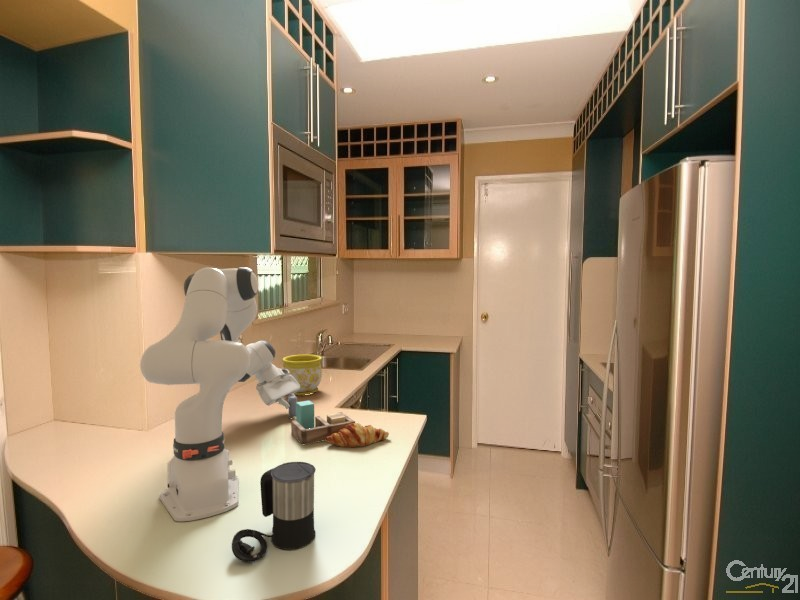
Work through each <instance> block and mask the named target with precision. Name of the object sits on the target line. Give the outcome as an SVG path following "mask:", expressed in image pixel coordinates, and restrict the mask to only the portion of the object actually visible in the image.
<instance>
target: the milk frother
mask: <svg viewBox="0 0 800 600" xmlns="http://www.w3.org/2000/svg"><path fill="white" fill-rule="evenodd" d="M315 473H316V467H315V465H313V464H311V463H309V462H304V461H290V462H289V461H288V462H283V463H282V464H279V465H277V466H275V467H273V468H271V469H269V470H267V471H265V472H264V473H263V474H262V475H261V477H260V482H259V483H260V495H261V497H260V498H261V511H262V516H263V517H265V518H267V517H269V516H272V529H271V530H272V531H271V532H272V534H266V533H263V532H261V531H258V530H255V529H250V528H249V529H248V528H247V529H246V528H245V529H241V530H239V531H237V532H236V533H235V534H234V536H233V538H232V541H231V551H232V554H233V555H234V557H235V558H236V559H238V560H239V561H241V562H244V563H252V562H253V563H254V562H256V561H259V560H260V559H262V558H263V557H264V556H265V555H266V553H267V549H268V542H267V540H266V538H270V539H271V540H270V541H271V543H272V545H274V546H275V547H276V548H278V549H282V550H286V551H288V550H290V549H291V550H298V549H302V548H304V547H306V546H308V545H309V544H311V543H312V542H313V541H314V539H315V537H316V530H315ZM264 537H266V538H264ZM244 538H253V539H255V540H257V541H258V543H259V545H260V550H259V552H257V553H255V552H254V551H255V546H254V545H253V546H251V545H250V544H248V543H246V542H244V541H243V540H242V539H244ZM312 540H313V541H312ZM311 541H312V542H311ZM310 542H311V543H310ZM307 544H308V545H307ZM305 545H306V546H305ZM303 546H304V547H303ZM301 547H302V548H301ZM291 550H290V551H291Z"/></svg>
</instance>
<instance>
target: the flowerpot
mask: <svg viewBox="0 0 800 600" xmlns="http://www.w3.org/2000/svg"><path fill="white" fill-rule="evenodd" d="M322 360H323V357H322V356H320V355H317V354H294V355H293V354H292V355H287V356H284V357H283V358H282V362H283V369H287V370H288V371H289V372H290V373H289V374H290V375H292V376H293V377H294V378H295V380H296V381H297V382H298V383H299V385H300V389H299V390H298V391H297V392H296V393H295V395H305V394H310V393H314V392H316V393H317V391H319V385H320V383H321V381H322V377H323V374H322V362H321V361H322ZM314 394H315V393H314Z"/></svg>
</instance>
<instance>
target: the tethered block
mask: <svg viewBox="0 0 800 600" xmlns="http://www.w3.org/2000/svg"><path fill="white" fill-rule="evenodd" d="M297 401H298V396H291V397H288V402H289V403H290V404H291V407H290V408H288V418H289V417H290V418H294V419H295V420H296V421H297V422H298V423H299V424H300V425H301V426H302V427H303V428H305V429H309V428H315V403H313V402H312V401H311V400H304V401H298V402H297ZM294 419H293V420H294Z"/></svg>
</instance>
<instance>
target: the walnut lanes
mask: <svg viewBox="0 0 800 600" xmlns="http://www.w3.org/2000/svg"><path fill="white" fill-rule="evenodd" d="M338 413H341V414H342V415H344V416H345V422H342V423H336V424H331V425H330V424H329V423H327V420H325V419H323V417H321V416H320V415H316V416H314V428H310V429H305V428H303V427H302V426H301V425H300V424H299V423H298V422H297V421H296V420H294V419H292V420H291V421H290V422H291V423H290V426H291V427H290V428H291V434H292V436H294V438H295V437H296V438H297V439H298V440H299V441H300V442H301V443H300V442H299V441H298V440H297V439H296V438H295V439H296V440H297V441H298V442H299V443H300V444H301V445H302V444H305V445H309V444H308V443H310V444H314V443H313V442H315V443H318V441H319V442H323V441H322V440H324V441H326V437H328V436H330V435H332V434H333V433H338V432H339V430H340V429H345V427H346V426H347V425H348V424H351V423H356V421H355V420H354V419H352V418H351V417H349V416H348V415H346V414H345V413H344V412H343V411H341V412H338Z"/></svg>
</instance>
